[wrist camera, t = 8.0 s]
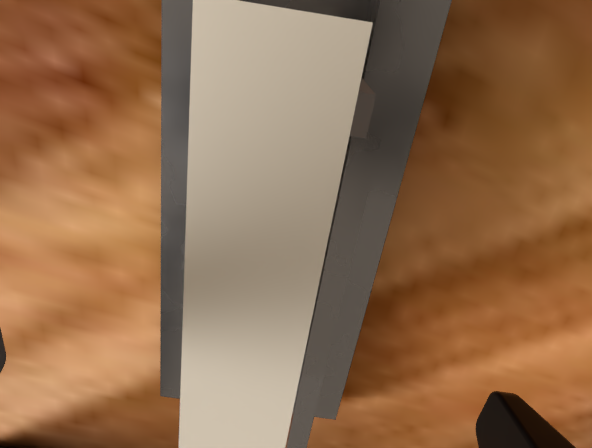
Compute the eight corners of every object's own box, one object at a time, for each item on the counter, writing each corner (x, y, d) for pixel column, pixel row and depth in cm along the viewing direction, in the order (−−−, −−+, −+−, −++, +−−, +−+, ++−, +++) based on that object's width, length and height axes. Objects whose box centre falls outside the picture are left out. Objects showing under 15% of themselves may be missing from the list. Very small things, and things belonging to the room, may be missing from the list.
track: (334, 401, 20) (337, 461, 17) (167, 378, 20) (144, 435, 17) (474, -123, 11) (526, -168, 8) (175, -176, 11) (129, -240, 8)
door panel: (296, 343, 17) (287, 531, 11) (227, 334, 17) (176, 517, 11) (358, 23, 12) (409, 28, 6) (257, 6, 12) (193, -8, 5)
